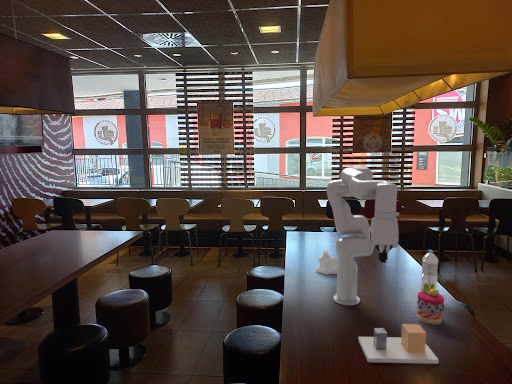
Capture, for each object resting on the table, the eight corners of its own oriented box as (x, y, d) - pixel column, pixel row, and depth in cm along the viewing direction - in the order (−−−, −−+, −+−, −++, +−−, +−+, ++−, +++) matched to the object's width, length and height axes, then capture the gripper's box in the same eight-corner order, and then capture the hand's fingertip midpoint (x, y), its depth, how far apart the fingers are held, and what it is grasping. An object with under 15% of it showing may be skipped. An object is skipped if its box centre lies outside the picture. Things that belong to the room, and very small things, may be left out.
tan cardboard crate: (401, 342, 132) (402, 323, 131) (417, 343, 131) (419, 324, 130) (407, 352, 125) (408, 332, 124) (425, 352, 125) (426, 332, 124)
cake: (448, 323, 149) (451, 289, 147) (428, 326, 146) (430, 292, 144) (430, 312, 159) (432, 280, 157) (410, 315, 156) (412, 283, 154)
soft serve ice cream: (332, 279, 202) (327, 257, 199) (312, 275, 214) (307, 254, 211) (344, 269, 210) (340, 248, 207) (324, 265, 222) (320, 245, 218)
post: (373, 348, 131) (373, 327, 130) (382, 348, 131) (383, 328, 130) (375, 353, 127) (376, 333, 126) (386, 353, 127) (386, 333, 126)
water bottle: (423, 295, 177) (426, 247, 174) (437, 299, 172) (440, 250, 169) (417, 299, 172) (420, 250, 169) (432, 304, 167) (435, 253, 164)
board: (358, 340, 136) (358, 336, 136) (421, 341, 135) (421, 337, 135) (368, 362, 122) (368, 358, 122) (438, 363, 121) (438, 359, 121)
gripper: (401, 213, 137) (398, 258, 139) (362, 213, 137) (360, 258, 140) (408, 217, 129) (405, 265, 132) (367, 217, 130) (365, 264, 132)
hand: (382, 261), depth 136 cm, fingers closed
